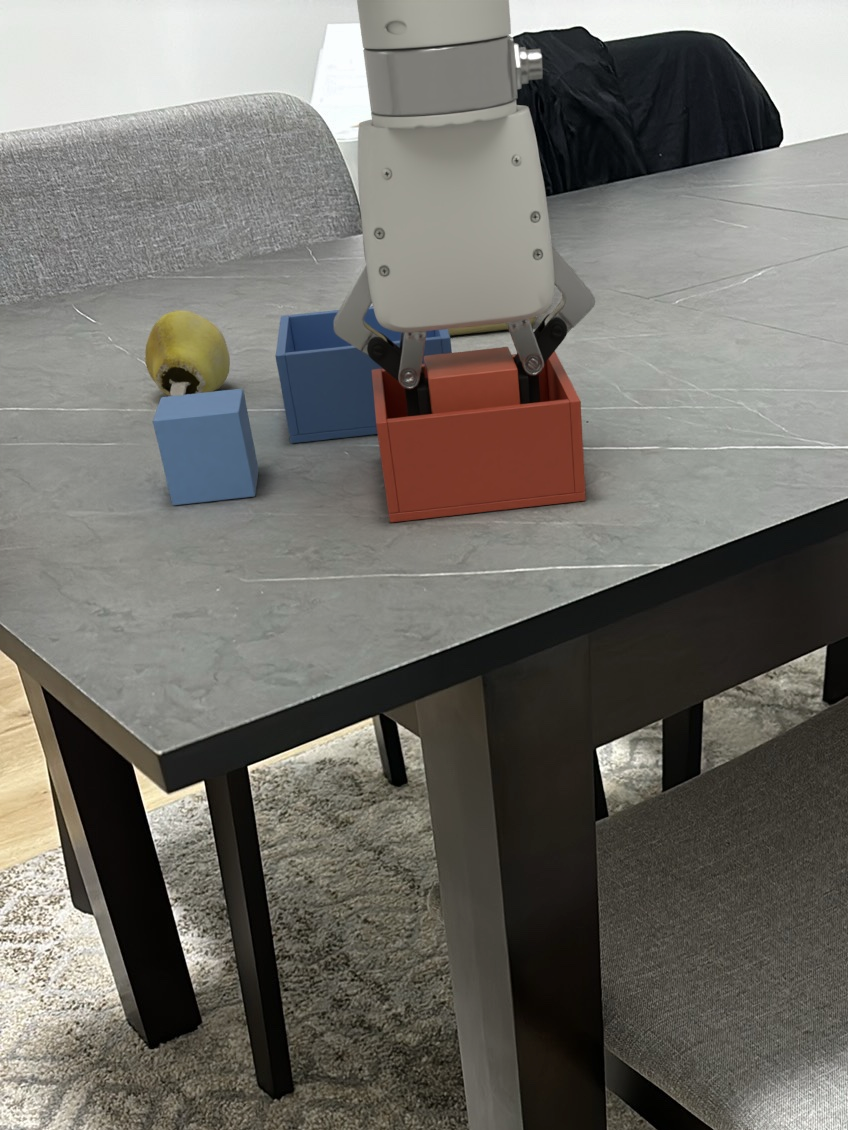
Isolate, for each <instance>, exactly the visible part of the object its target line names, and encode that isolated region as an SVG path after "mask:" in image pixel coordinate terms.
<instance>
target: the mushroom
mask: <svg viewBox="0 0 848 1130" xmlns="http://www.w3.org/2000/svg"><path fill="white" fill-rule="evenodd" d="M230 357H231V356H230V353H229V349H228V345H227V341H226V339H225V337H224V335H223V333H222V331H221V329H220V328H219V327H218V326H217V325H216V324H215V323H213V322H212V321H210V320H208V319H207V318H205V317H203V316H201V315H199V314H196V313H195V312H192V311H190V310H184V309H183V310H182V309H181V310H180V309H179V310H173V311H170V312H167V313H165V314H164V315H162V316H161V317H160V318H159V319H158V320H157V321H156V322H155V324H154V325H153V326H152V328H151V330H150V333H149V335H148V338H147V341H146V345H145V351H144V361H145V366H146V369H147V373H148V374H149V376H150V378H151V380H152V381H153V382H154V383H155V384H156V386H157V387H158V389H159V390H160V391H161V392H162V393H163V394H164V395H166V397H168V396H177V395H187V394H196V393H205V392H215V391H219V389H220V388H221V387H222V386H223V384H224V383H225V381H226V380H227V378H228V377H229V373H230V367H231V358H230Z"/></svg>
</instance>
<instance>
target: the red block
mask: <svg viewBox="0 0 848 1130" xmlns="http://www.w3.org/2000/svg"><path fill="white" fill-rule="evenodd" d="M512 355H513V354H512V352H511V350H510V348H509V347H508V346H501V347H494V348H493V347H492V348H484V349H473V350H466V351H464V350H463V351H455V352H452V353H446V354H437V355H428V356H424V363H425V372H426V378H427V382H428V387H429V393H430V401H431V410H432V414H437V413H446V412H456V411H465V410H474V409H483V408H492V407H501V406H511V405H520V394H519V381H518V369H517V367H516V365H515V362H514V360H513V357H512Z"/></svg>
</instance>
